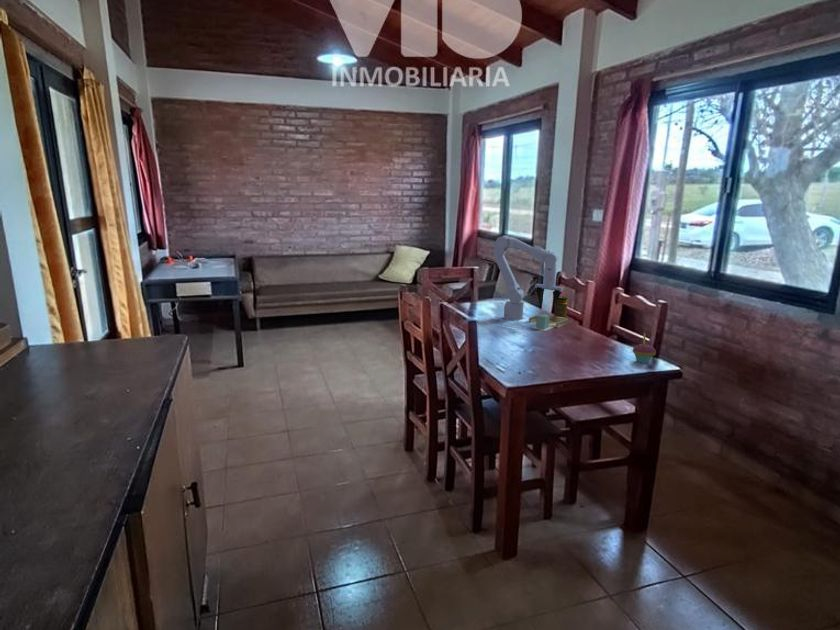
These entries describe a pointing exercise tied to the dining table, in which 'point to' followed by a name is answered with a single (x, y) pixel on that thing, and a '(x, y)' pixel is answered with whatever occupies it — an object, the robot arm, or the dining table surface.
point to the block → (542, 321)
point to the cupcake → (644, 352)
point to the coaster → (542, 329)
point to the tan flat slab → (552, 320)
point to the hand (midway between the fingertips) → (547, 303)
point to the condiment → (561, 307)
